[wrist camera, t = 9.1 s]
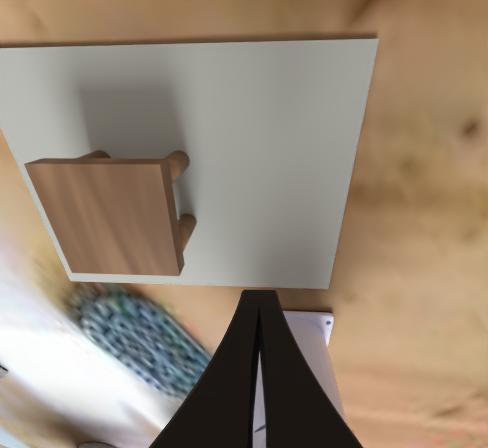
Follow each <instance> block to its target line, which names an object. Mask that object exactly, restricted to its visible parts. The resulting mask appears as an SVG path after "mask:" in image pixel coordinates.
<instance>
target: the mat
mask: <svg viewBox="0 0 488 448" xmlns="http://www.w3.org/2000/svg"><path fill="white" fill-rule="evenodd" d="M378 42H379V39H345V40H306V41H266V42H227V43H188V44H149V45H110V46H71V47H31V48H0V128H1V130H2V132H3V134H4V136H5V139H6V141H7V143H8V145H9V147H10V150H11V152H12V154H13V156H14V158H15V161H16V163H17V165H18V167H19V169H20V171H21V174H22V176H23V178H24V180H25V182H26V185H27V187H28V189H29V191H30V193H31V196H32V198H33V200H34V202H35V204H36V207H37V209H38V211H39V213H40V215H41V217H42V220H43V222H44V224H45V226H46V228H47V231H48V233H49V235H50V237H51V239H52V242H53V244H54V246H55V248H56V250H57V253H58V255H59V257H60V259H61V261H62V263H63V266H64V268H65V270H66V272H67V274H68V277H69V279H70V281H85V282H117V283H149V284H180V285H212V286H244V287H275V288H307V289H329V284H330V279H331V274H332V269H333V264H334V259H335V255H336V250H337V245H338V240H339V235H340V230H341V225H342V220H343V215H344V210H345V205H346V200H347V195H348V190H349V185H350V180H351V176H352V171H353V166H354V161H355V156H356V151H357V146H358V141H359V136H360V131H361V126H362V121H363V116H364V111H365V106H366V102H367V97H368V92H369V87H370V82H371V77H372V72H373V67H374V62H375V57H376V52H377V47H378ZM97 150H102V151H104V152H106V153H107V154H108V155H109V156H110V158H122V159H164V158H165V157H167V156H168V155H170V154H171V153H172V152H174V151H177V150H180V151H183V152H185V153H186V154H187V155H188V157H189V160H190V164H189V166H188V168H187V169H186V170H185V171H184V172H183V173H182V174H181V175H180V176H179V177H178V178H177V179H176V180H175V181H174V183H173V184H172V187H173V193H174V199H175V206H176V212H177V218H178V219H179V218H180V216H181V215H183V214H191V215H193V216H194V217H195V218H196V221H197V224H196V227H195V229H194V231H193V233H192V235H191V237H190V239H189V241H188V243H187V245H186V248H185V250H184V252H183V256H184V263H185V265H184V267H183V270H182V272H181V274H180V276H153V275H121V274H89V273H72V272H71V270H70V268H69V265H68V263H67V261H66V258H65V256H64V254H63V252H62V249H61V247H60V245H59V243H58V240H57V238H56V236H55V234H54V231H53V229H52V227H51V225H50V222H49V220H48V218H47V215H46V213H45V211H44V209H43V206H42V204H41V202H40V200H39V197H38V195H37V193H36V191H35V188H34V186H33V184H32V182H31V179H30V177H29V175H28V172H27V170H26V168H25V166H24V164H25V163H28V162H32V161H35V160H38V159H41V158H78V157H80V156H83V155H86V154H89V153H91V152H94V151H97Z"/></svg>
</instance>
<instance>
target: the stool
mask: <svg viewBox="0 0 488 448" xmlns="http://www.w3.org/2000/svg"><path fill="white" fill-rule="evenodd" d="M189 164H190V160H189V157H188V155H187V154H186V153H185V152H183V151H180V150H177V151H174V152H172V153H171V154H170V155H168V156H167V157H165V158H164V159H122V158H110V156H109V155H108V154H107V153H106V152H104V151H102V150H97V151H94V152H91V153H89V154H86V155H83V156H80V157H78V158H41V159H38V160H35V161H32V162H28V163H25V164H24V166H25V168H26V170H27V172H28V175H29V177H30V179H31V182H32V184H33V186H34V188H35V191H36V193H37V195H38V197H39V200H40V202H41V204H42V206H43V209H44V211H45V213H46V215H47V218H48V220H49V222H50V225H51V227H52V229H53V231H54V234H55V236H56V238H57V240H58V243H59V245H60V247H61V249H62V252H63V254H64V256H65V258H66V261H67V263H68V265H69V268H70V270H71V272H72V273H89V274H121V275H153V276H180V274H181V272H182V270H183V267H184V265H185V263H184V256H183V252H184V250H185V248H186V245H187V243H188V241H189V239H190V237H191V235H192V233H193V231H194V229H195V227H196V224H197V221H196V218H195V217H194V216H193V215H191V214H183V215H181V216H180V218H179V219H178V218H177V212H176V206H175V199H174V193H173V187H172V184H173V183H174V181H175V180H176V179H177V178H178V177H179V176H180V175H181V174H182V173H183V172H184V171H185V170H186V169H187V168H188V166H189Z"/></svg>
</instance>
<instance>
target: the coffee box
mask: <svg viewBox="0 0 488 448" xmlns="http://www.w3.org/2000/svg"><path fill="white" fill-rule="evenodd" d="M7 373H8V372H7V371H6V370H4V369H2V368H1V367H0V381H1V380H2V379H3V378H4V377H5V376H6V375H7Z"/></svg>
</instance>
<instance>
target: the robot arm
mask: <svg viewBox="0 0 488 448" xmlns="http://www.w3.org/2000/svg"><path fill="white" fill-rule="evenodd" d="M333 322H334V316H333V314H332V313H324V312H297V311H282V308H281V305H280V302H279V298H278V294H277V292H276V291H275V290H244V291H242V293H241V297H240V300H239V303H238V306H237V309H236V311H235V314H234V316H233V318H232V321H231V323H230V325H229V327H228V329H227V331H226V333H225V335H224V337H223V339H222V341H221V343H220V345H219V347H218V348H217V350H216V352H215V354H214V356H213V358H212V359H211V361H210V363H209V364H208V366H207V368H206V369H205V371H204V372H203V374H202V376H201V377H200V379H199V380H198V382H197V383H196V385H195V386H194V388H193V389H192V391H191V392H190V394H189V395H188V396H187V398H186V399H185V401H184V402H183V404H182V405H181V407H180V408H179V409H178V411H177V412H176V413H175V415H174V416H173V417H172V419H171V420H170V421H169V423H168V424H167V425H166V426H165V428H164V429H163V430H162V431H161V433H160V434H159V435H158V437H157V438H156V439H155V440H154V442H153V443H152V444H151V445H150V447H149V448H363V447H362V445H361V444H360V442H359V441H358V440H357V438H356V437H355V435H354V431H353V430H350V428H349V427H348V424H347V420H346V417H345V413H344V409H343V405H342V401H341V398H340V394H339V390H338V386H337V382H336V378H335V375H334V371H333V367H332V363H331V359H330V356H329V352H328V343H329V339H330V335H331V331H332V326H333Z"/></svg>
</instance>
